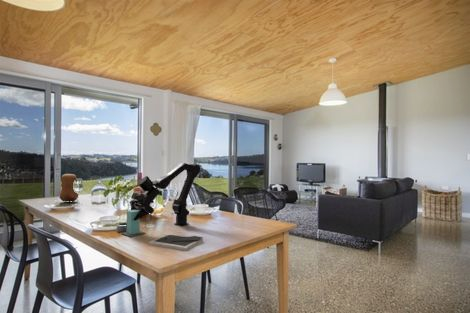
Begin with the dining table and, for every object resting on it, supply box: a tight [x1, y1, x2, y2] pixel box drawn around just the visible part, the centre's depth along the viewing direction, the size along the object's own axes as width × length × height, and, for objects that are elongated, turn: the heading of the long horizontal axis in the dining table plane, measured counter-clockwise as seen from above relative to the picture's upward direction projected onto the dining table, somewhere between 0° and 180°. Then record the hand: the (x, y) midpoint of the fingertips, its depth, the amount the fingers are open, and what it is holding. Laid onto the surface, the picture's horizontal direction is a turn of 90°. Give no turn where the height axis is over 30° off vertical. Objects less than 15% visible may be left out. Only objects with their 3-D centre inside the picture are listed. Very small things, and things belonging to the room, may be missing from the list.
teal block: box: [126, 209, 141, 235], centre depth 152 cm, size 5×5×12 cm
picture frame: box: [148, 233, 204, 252], centre depth 138 cm, size 16×3×21 cm
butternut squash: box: [59, 173, 79, 202], centre depth 245 cm, size 14×13×25 cm
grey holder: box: [116, 221, 127, 233], centre depth 161 cm, size 9×9×3 cm
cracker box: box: [132, 185, 148, 219], centre depth 195 cm, size 14×6×21 cm, turn 168°
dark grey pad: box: [120, 230, 146, 238], centre depth 152 cm, size 9×9×1 cm
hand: (130, 219), depth 151 cm, fingers open, 7 cm apart
